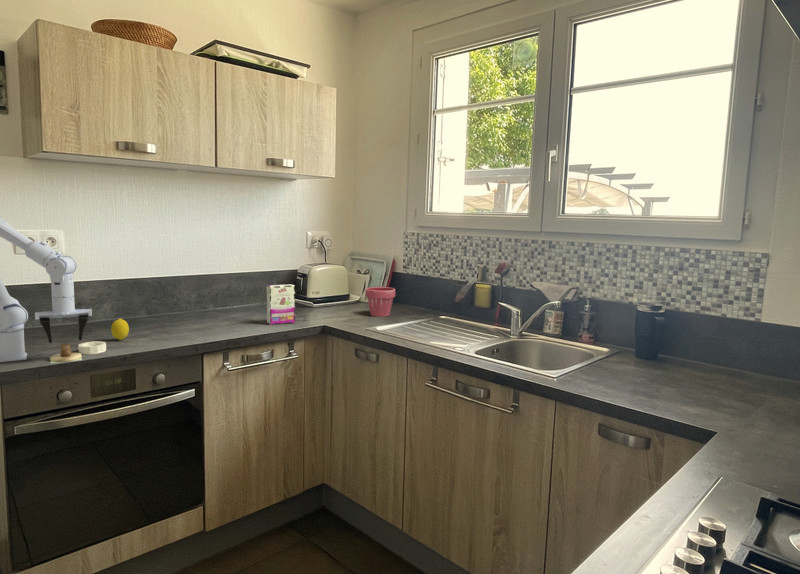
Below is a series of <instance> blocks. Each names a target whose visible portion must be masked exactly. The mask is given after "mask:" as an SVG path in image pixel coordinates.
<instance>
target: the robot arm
mask: <svg viewBox="0 0 800 574" xmlns="http://www.w3.org/2000/svg"><path fill="white" fill-rule="evenodd" d="M0 237H1V239H2V238H3V239H4V240H5V241H7V242H10V243H11V244H13V245H14V246H16V247H18V248H20V249H21V250H23V251H24V254H25V257H26V258H29V259H31V260H32V261H33V262H35V263H37V264H38V265H40V266H41V267H43V268H44V269H45V271H46V273H47V274H48V275H49V279H50V285H51V286H50V287H51V288H50V289H51V305H52V310H45V311H36V312H34V318H35V319H34V320H35V321H39V323H40V325H41V326H42V328H43V330H44V332H45V333H46V336H47V339H48V343H49V344H53V341H52V333H51V321H50V320H51V319H61V318H72V317H73V318H76V317H77V319H78V320H77V322H78V341H82V340H83V333H84V330H85V326H86V325H87V323H88V320H89V317H92V316H93V310H92V308H79V309H78V308H77V309H76V307H75V287H74V286H75V285H74V273H75V271H76V270H77V262H76V260H75V259H74V258H73V257H71V256H70V255H62V252H61V251H56V250H55V249H53V247H52V248H51V246H49V245H48V243H47V242H46V241H40V240H35V241H33V240H32V239H30V238H29V237H27V236H26V235H24V234H23V233H22V232H21V231H19V230H18V229H16V228H15V227H13V226H12V225H11V224H9V223H7V221H6V220H5V219H4V218H1V217H0ZM28 320H29V314H28V311H27V310H26V308H25V307H23V306H22V305H21V304H20V301H18V299H16V298H14V297H12V296H11V295H10V294H9V291H8V290H7V288H6V285H5V283H4V282H3V280H2V277H0V363H3V362H14V361H23V360H24V361H26V360H27V358H28V357H27V356H28V352H25V351H26V348H25V330H24V328H25V324H26V322H27V321H28Z"/></svg>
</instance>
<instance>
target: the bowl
mask: <svg viewBox="0 0 800 574" xmlns="http://www.w3.org/2000/svg"><path fill="white" fill-rule="evenodd" d="M77 345H78V353H80V354H82V355H96V354H101V353H105V352H106V351H107V342H105V341H86V342H82V343H78V344H77Z"/></svg>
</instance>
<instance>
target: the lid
mask: <svg viewBox="0 0 800 574" xmlns="http://www.w3.org/2000/svg"><path fill="white" fill-rule="evenodd" d="M59 347H60V353H56V354H53V355H51V356H50V357H49V360H50V361H49V362H51V361H52V362H60V363H68V362H75V361H74V360H78V359H80V358H82V355H83V354H80V353H79V352H72V351H71V349H72V348H71V344H70V343H63V344H60V346H59Z"/></svg>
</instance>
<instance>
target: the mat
mask: <svg viewBox="0 0 800 574" xmlns="http://www.w3.org/2000/svg"><path fill="white" fill-rule="evenodd" d="M77 361H83V359H82V358H80V359H78V360H74V361H73V362H77ZM56 363H57V364H58V363H60V364H61V362H52V361H50V364H56Z"/></svg>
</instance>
